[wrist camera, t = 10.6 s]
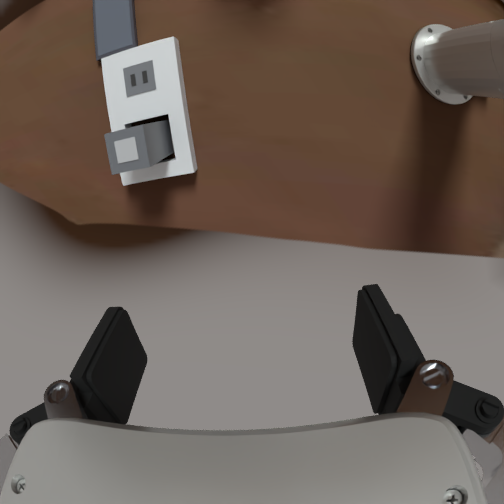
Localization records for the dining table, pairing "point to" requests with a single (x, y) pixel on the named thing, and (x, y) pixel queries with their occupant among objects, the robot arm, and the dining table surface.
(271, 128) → the dining table surface
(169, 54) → the outlet plate
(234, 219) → the dining table surface
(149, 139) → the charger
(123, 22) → the phone
